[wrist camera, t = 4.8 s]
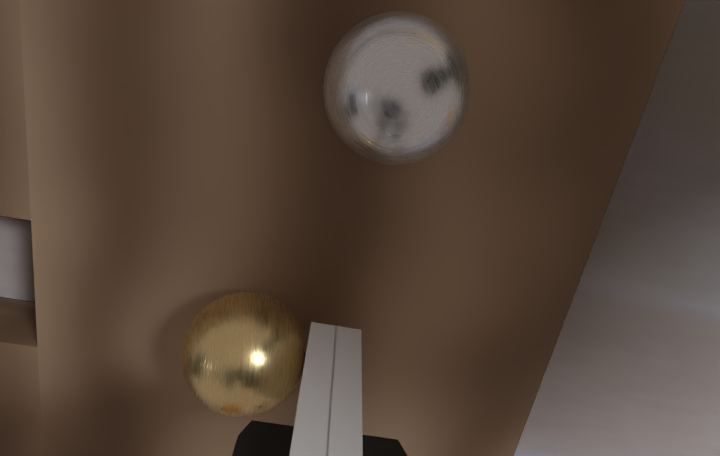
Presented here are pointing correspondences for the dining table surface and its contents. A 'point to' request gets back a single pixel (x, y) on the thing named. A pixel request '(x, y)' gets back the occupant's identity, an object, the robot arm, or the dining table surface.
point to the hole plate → (299, 210)
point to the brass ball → (243, 354)
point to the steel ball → (397, 87)
